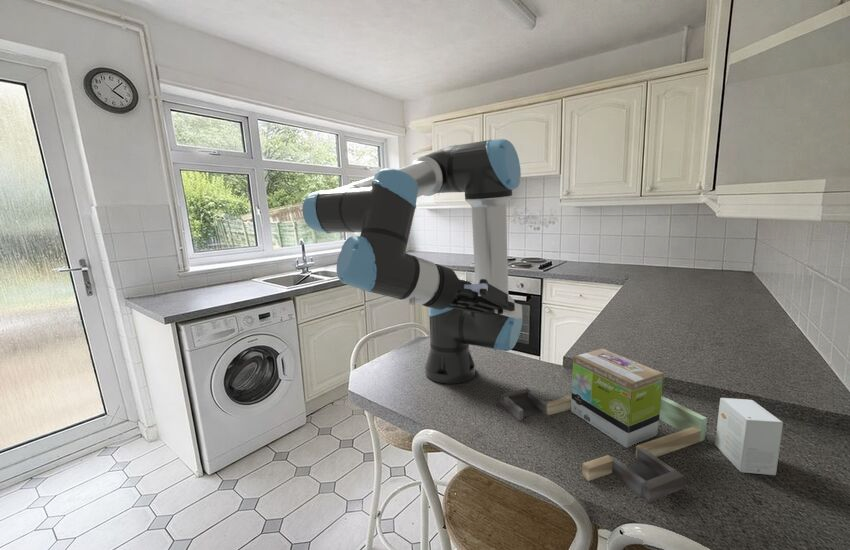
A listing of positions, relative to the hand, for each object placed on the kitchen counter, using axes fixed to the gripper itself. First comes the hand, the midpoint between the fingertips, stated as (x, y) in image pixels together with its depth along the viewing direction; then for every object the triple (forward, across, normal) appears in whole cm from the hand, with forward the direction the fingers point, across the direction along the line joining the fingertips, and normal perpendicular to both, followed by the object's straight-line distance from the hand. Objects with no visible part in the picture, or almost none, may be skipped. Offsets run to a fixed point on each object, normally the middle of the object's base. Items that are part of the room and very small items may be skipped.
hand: (519, 312), depth 73 cm
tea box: (+29, +2, -20) cm, 35 cm away
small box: (+37, +22, -25) cm, 50 cm away
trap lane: (+26, +2, -21) cm, 33 cm away
